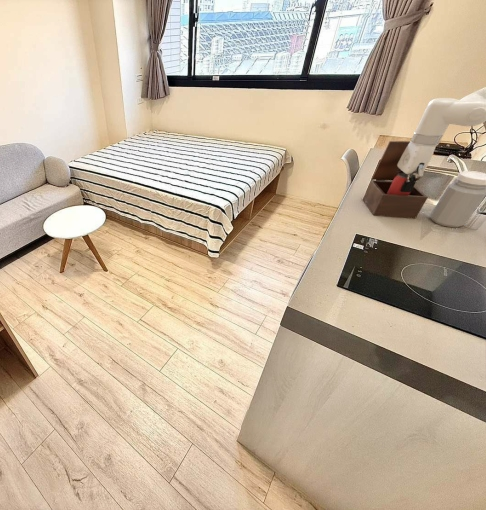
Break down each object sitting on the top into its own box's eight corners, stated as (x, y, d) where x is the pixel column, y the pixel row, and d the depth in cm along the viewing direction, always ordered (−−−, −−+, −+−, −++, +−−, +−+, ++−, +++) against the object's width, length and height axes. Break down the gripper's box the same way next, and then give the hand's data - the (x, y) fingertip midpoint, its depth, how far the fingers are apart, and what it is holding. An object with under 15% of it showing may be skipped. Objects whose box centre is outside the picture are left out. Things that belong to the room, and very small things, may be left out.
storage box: (415, 218, 106) (428, 197, 101) (373, 215, 110) (383, 194, 104) (400, 202, 117) (410, 182, 112) (362, 199, 121) (370, 180, 116)
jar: (425, 222, 104) (454, 175, 93) (432, 213, 108) (459, 167, 98) (461, 231, 97) (496, 182, 87) (466, 221, 102) (500, 174, 92)
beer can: (386, 207, 108) (401, 178, 101) (379, 200, 113) (393, 171, 106) (406, 208, 107) (422, 178, 100) (398, 201, 112) (413, 172, 105)
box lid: (435, 142, 101) (429, 137, 105) (390, 141, 105) (385, 136, 108) (411, 181, 111) (406, 175, 115) (371, 179, 115) (368, 173, 119)
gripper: (402, 133, 103) (381, 179, 114) (424, 145, 90) (398, 196, 101) (427, 133, 101) (403, 180, 112) (453, 146, 88) (423, 198, 98)
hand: (401, 187), depth 106 cm, fingers closed on beer can, 6 cm apart
